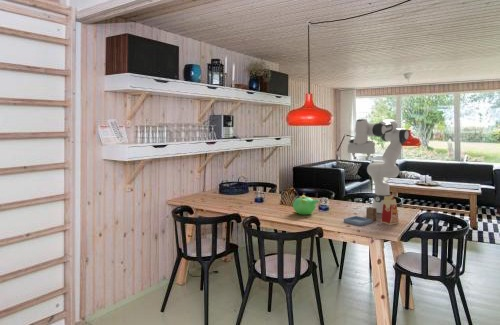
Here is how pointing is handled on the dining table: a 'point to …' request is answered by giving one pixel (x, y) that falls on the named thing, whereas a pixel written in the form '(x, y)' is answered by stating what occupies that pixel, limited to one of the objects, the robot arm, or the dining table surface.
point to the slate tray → (358, 220)
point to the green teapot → (304, 205)
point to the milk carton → (389, 211)
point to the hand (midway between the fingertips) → (360, 159)
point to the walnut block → (371, 213)
